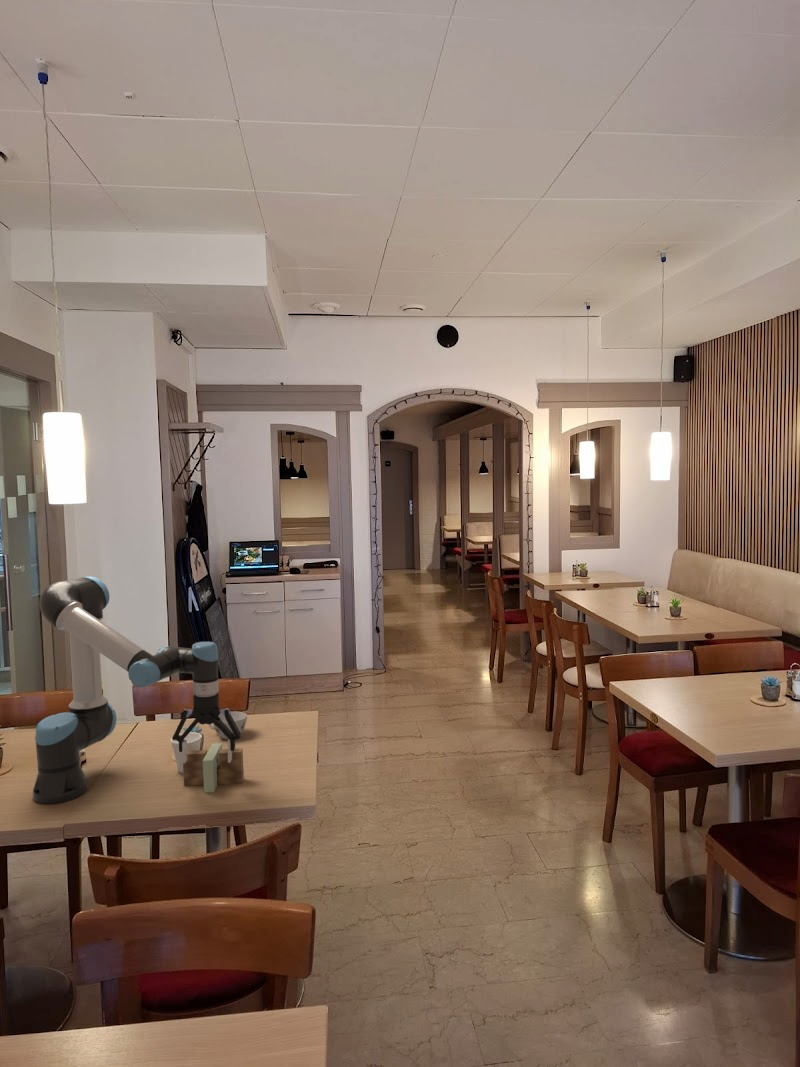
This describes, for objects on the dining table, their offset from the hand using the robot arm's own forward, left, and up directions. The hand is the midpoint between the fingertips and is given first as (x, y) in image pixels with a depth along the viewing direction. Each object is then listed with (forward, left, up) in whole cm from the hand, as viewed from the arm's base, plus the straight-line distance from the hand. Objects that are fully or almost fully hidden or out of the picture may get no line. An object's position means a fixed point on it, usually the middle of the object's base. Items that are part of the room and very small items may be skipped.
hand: (207, 761), depth 216 cm
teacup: (-3, +45, -9) cm, 46 cm away
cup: (-10, +16, -9) cm, 21 cm away
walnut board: (0, +5, -9) cm, 11 cm away
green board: (0, +5, -9) cm, 11 cm away
